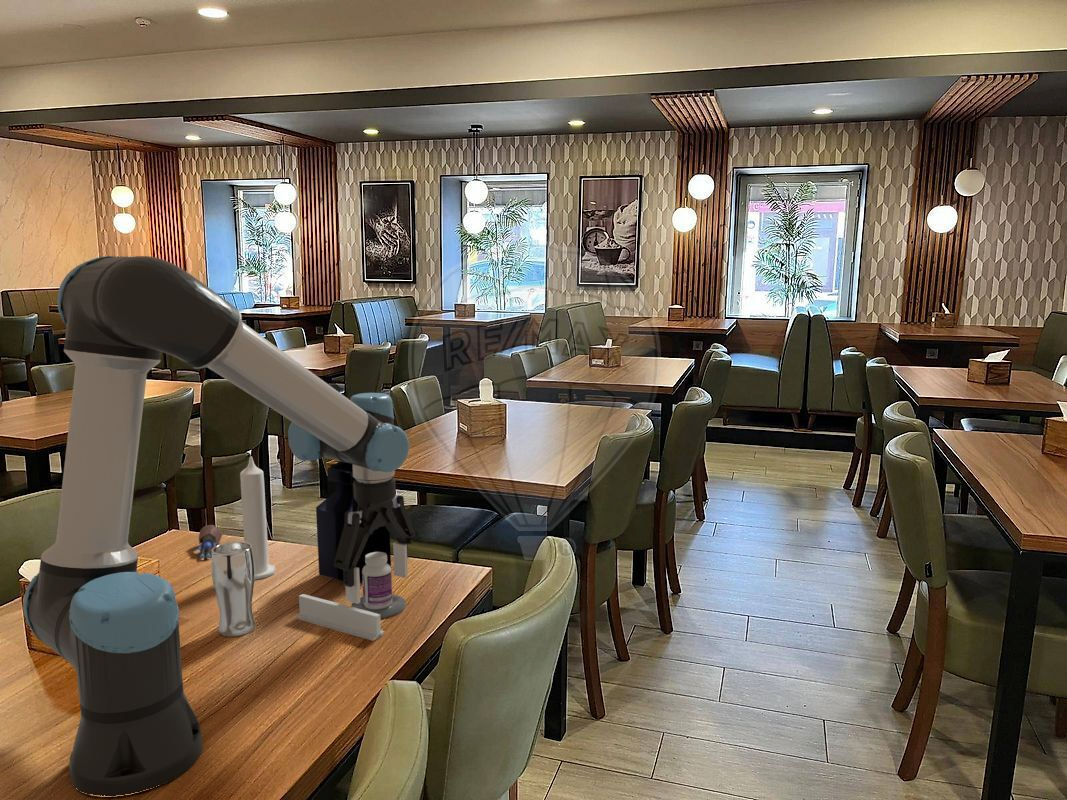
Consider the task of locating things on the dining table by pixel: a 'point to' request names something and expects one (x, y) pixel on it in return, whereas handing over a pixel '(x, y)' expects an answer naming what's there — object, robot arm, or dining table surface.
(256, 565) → the candle
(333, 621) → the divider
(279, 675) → the dining table surface
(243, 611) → the beer glass
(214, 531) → the figurine
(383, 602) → the pill bottle
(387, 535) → the vase
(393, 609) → the coaster
